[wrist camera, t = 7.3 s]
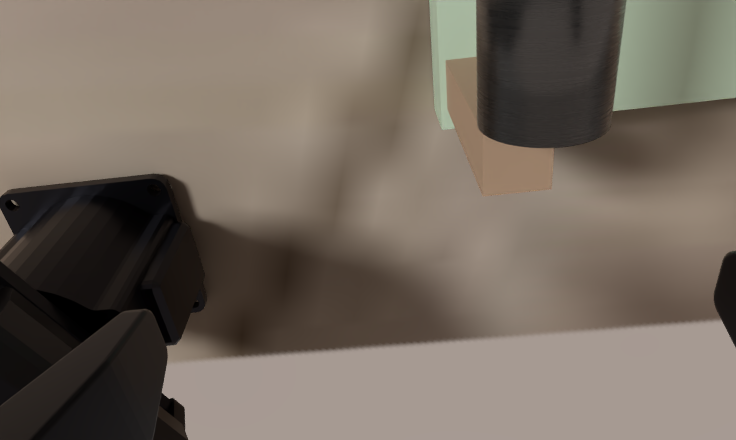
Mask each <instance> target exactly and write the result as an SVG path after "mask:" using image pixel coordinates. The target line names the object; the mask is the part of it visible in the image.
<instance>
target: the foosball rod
mask: <svg viewBox="0 0 736 440" xmlns="http://www.w3.org/2000/svg"><path fill="white" fill-rule="evenodd" d="M626 1H627V0H476V56H477V127H478V129H479V130H480V132H481V133H482V134H484V135H485V136H487V137H488V138H490V139H492V140H495V141H498V142H501V143H504V144H508V145H513V146H519V147H528V148H559V147H568V146H574V145H579V144H583V143H586V142H589V141H592V140H595V139H597V138H599V137H601V136H602V135H604V134H605V133H606V132H607V131H608V130H609V129H610V127H611V122H612V114H613V106H614V98H615V90H616V82H617V73H618V65H619V57H620V49H621V41H622V33H623V25H624V17H625V9H626Z"/></svg>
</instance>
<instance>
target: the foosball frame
mask: <svg viewBox="0 0 736 440" xmlns="http://www.w3.org/2000/svg"><path fill="white" fill-rule="evenodd" d="M429 5H430V26H431V46H432V67H433V87H434V107H435V112H436V114H437V117H438V120H439V123H440V126H441V129H442V130H446V129H456V132H457V134H458V137H459V139H460V142H461V144H462V146H463V149H464V151H465V154H466V156H467V159H468V161H469V164H470V166H471V168H472V171H473V173H474V176H475V178H476V181H477V183H478V186H479V188H480V190H481V193H482V195H483V196H492V195H501V194H511V193H520V192H530V191H539V190H549V189H551V188H552V174H553V159H554V148H528V147H519V146H513V145H508V144H504V143H501V142H498V141H495V140H492V139H490V138H488V137H487V136H485V135H484V134H482V133H481V132H480V130H479V129H478V127H477V56H476V0H429ZM729 98H736V0H627V1H626V9H625V17H624V25H623V33H622V41H621V49H620V57H619V65H618V73H617V82H616V90H615V98H614V106H613V111H620V110H629V109H638V108H647V107H656V106H665V105H674V104H683V103H693V102H702V101H711V100H720V99H729Z"/></svg>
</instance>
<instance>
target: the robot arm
mask: <svg viewBox="0 0 736 440" xmlns="http://www.w3.org/2000/svg"><path fill="white" fill-rule="evenodd" d="M151 184H153V185H157V186H158V187H159V188H160V189H161V191H155V190H153V189H152V188H151V186H150V185H151ZM11 200H14V201H16V202H17V203H18V204H19V206H16V205H14V204H13V203H12V202H11ZM0 209H1V211H2V213H3V214H4V216H5V218H6V220H7V222H8V224H9V226H10V228H11V230H12V232H13V234H14V236H13V237H12V238H11V239H10V240H9V241H8V242H7V243H6V244H5V245H4V246H3V247H2V249H1V250H0V440H188V438H187V435H186V432H185V412H184V411H185V409H184V407H183V406H182V405H181V404H180V403H178V402H177V401H176V400H175V399H173V398H171V399H168V398H167V397H166V396H165V395H164V394H162V388H163V382H164V376H165V371H166V365H167V358H168V354H167V347H166V346H170V345H176V344H177V343H178V341H179V340H180V339H181V337H182V334H183V332H184V329H185V326H186V324H187V321H188V318H189V316H190V313H193V312H199V311H201V310H203V309H204V307H205V304H206V301H207V295H206V292H205V289H204V286H203V283H202V282H203V279H204V276H205V273H204V270H203V267H202V264H201V261H200V258H199V254H198V251H197V248H196V245H195V242H194V239H193V236H192V233H191V230H190V227H189V226H188V225H187V224H186V223H185V222H182V219H181V216H180V213H179V210H178V207H177V204H176V201H175V198H174V195H173V192H172V189H171V186H170V183H169V182H168V180H167V179H166V178H165V177H164V176H161V175H159V174H147V175H138V176H129V177H119V178H110V179H101V180H92V181H83V182H73V183H64V184H55V185H46V186H37V187H27V188H18V189H11V190H8V191H7V192H6V193H4V194H3V195H2V196H1V197H0ZM195 300H198V302H195ZM714 303H715V307H716V309H717V312H718V314H719V316H720V318H721V320H722V322H723V323H724V325H725V327H726V329H727V331H728V333H729V335H730V337H731V339H732V341H733V343H734V345H735V347H736V251H731V252H729V253H727V254H726V256H725V257H724V259H723V262H722V265H721V269H720V273H719V276H718V280H717V284H716V287H715V291H714Z"/></svg>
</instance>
